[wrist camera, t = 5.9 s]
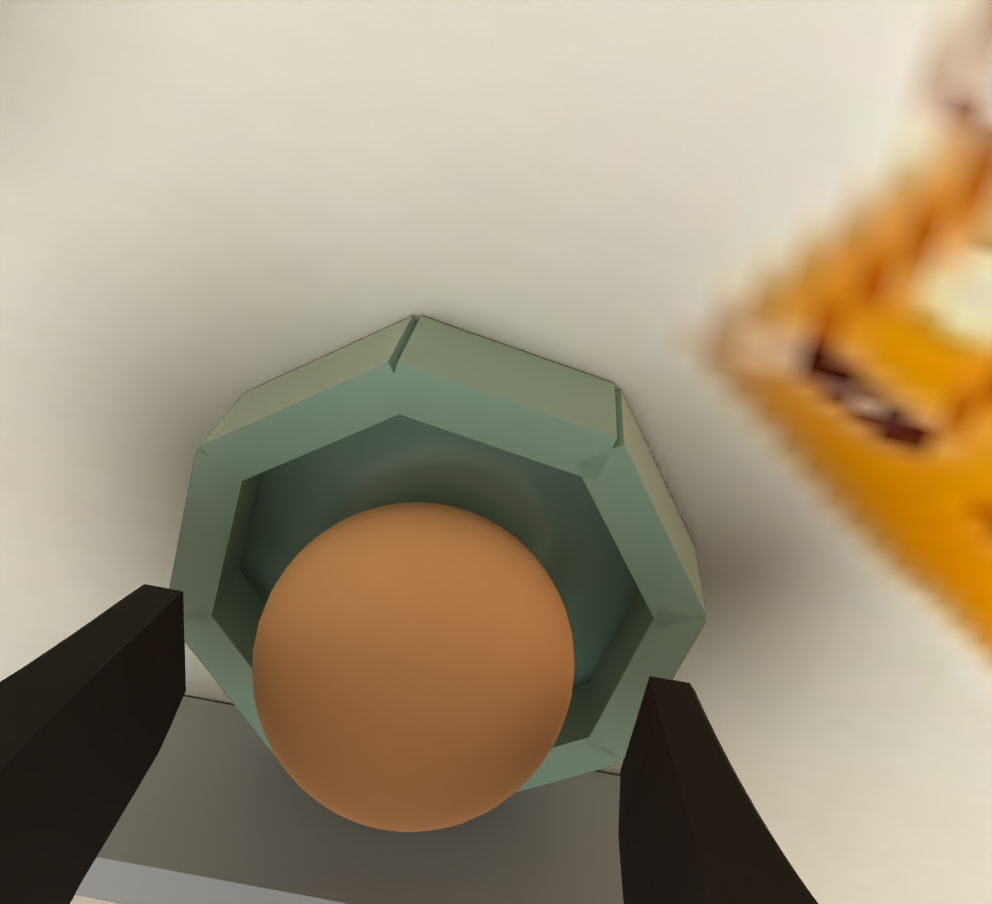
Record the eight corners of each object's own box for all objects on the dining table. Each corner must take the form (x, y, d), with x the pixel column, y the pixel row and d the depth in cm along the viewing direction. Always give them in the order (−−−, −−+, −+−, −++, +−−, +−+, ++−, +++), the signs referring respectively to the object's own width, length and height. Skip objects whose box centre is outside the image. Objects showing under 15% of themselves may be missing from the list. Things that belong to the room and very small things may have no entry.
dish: (743, 649, 17) (759, 725, 16) (364, 762, 20) (341, 840, 18) (555, 249, 14) (550, 289, 12) (129, 445, 17) (74, 501, 15)
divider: (693, 789, 19) (714, 972, 16) (679, 826, 20) (697, 1011, 16) (52, 671, 19) (-67, 826, 16) (57, 712, 20) (-58, 870, 17)
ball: (619, 632, 17) (627, 867, 12) (385, 701, 18) (317, 934, 14) (506, 406, 15) (469, 589, 10) (254, 502, 16) (126, 699, 12)
